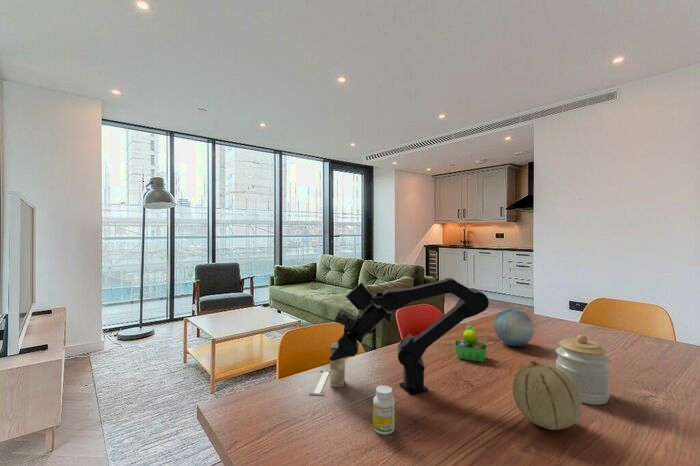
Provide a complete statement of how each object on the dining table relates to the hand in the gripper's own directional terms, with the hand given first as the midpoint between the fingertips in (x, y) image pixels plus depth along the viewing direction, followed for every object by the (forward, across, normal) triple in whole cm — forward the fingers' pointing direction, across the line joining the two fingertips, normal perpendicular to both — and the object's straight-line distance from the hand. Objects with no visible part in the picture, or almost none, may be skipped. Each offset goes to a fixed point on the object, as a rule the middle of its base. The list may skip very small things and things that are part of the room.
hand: (333, 354), depth 101 cm
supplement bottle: (-5, +21, +18) cm, 28 cm away
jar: (-46, -3, +59) cm, 75 cm away
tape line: (+9, 0, +4) cm, 10 cm away
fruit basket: (-28, -27, +41) cm, 56 cm away
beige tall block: (+6, 0, +8) cm, 9 cm away
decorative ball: (-42, -43, +56) cm, 82 cm away
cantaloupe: (-33, +14, +46) cm, 59 cm away
